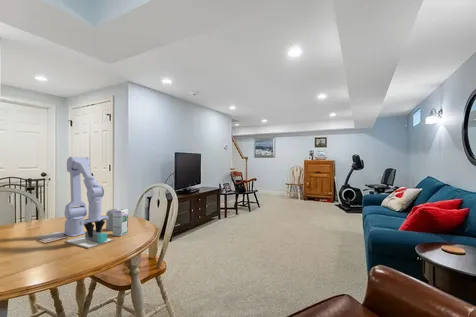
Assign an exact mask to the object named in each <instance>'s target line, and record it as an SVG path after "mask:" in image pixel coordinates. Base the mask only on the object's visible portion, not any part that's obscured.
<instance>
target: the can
mask: <svg viewBox="0 0 476 317" xmlns="http://www.w3.org/2000/svg"><path fill="white" fill-rule="evenodd" d="M113 210H117V208H114V209H108V210H107V211H106V215H105V216H108V220H105V229H106V231H108V232H109V231H111V232H113Z"/></svg>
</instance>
